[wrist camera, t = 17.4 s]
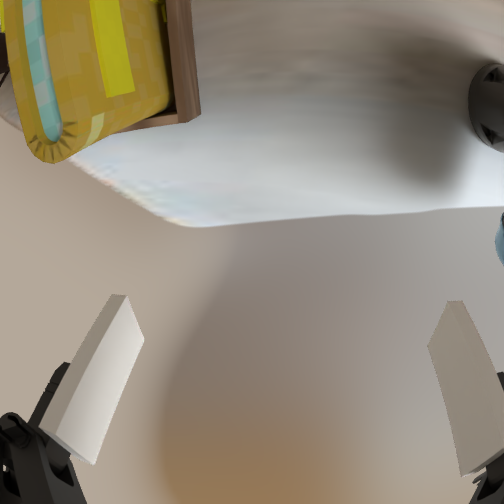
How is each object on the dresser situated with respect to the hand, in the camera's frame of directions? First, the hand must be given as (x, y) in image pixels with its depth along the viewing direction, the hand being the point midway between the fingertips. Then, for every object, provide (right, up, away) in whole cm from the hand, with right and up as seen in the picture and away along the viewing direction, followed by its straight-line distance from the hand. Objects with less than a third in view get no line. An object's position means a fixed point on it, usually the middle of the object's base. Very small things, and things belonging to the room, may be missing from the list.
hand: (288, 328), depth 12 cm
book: (-15, +31, +24) cm, 42 cm away
